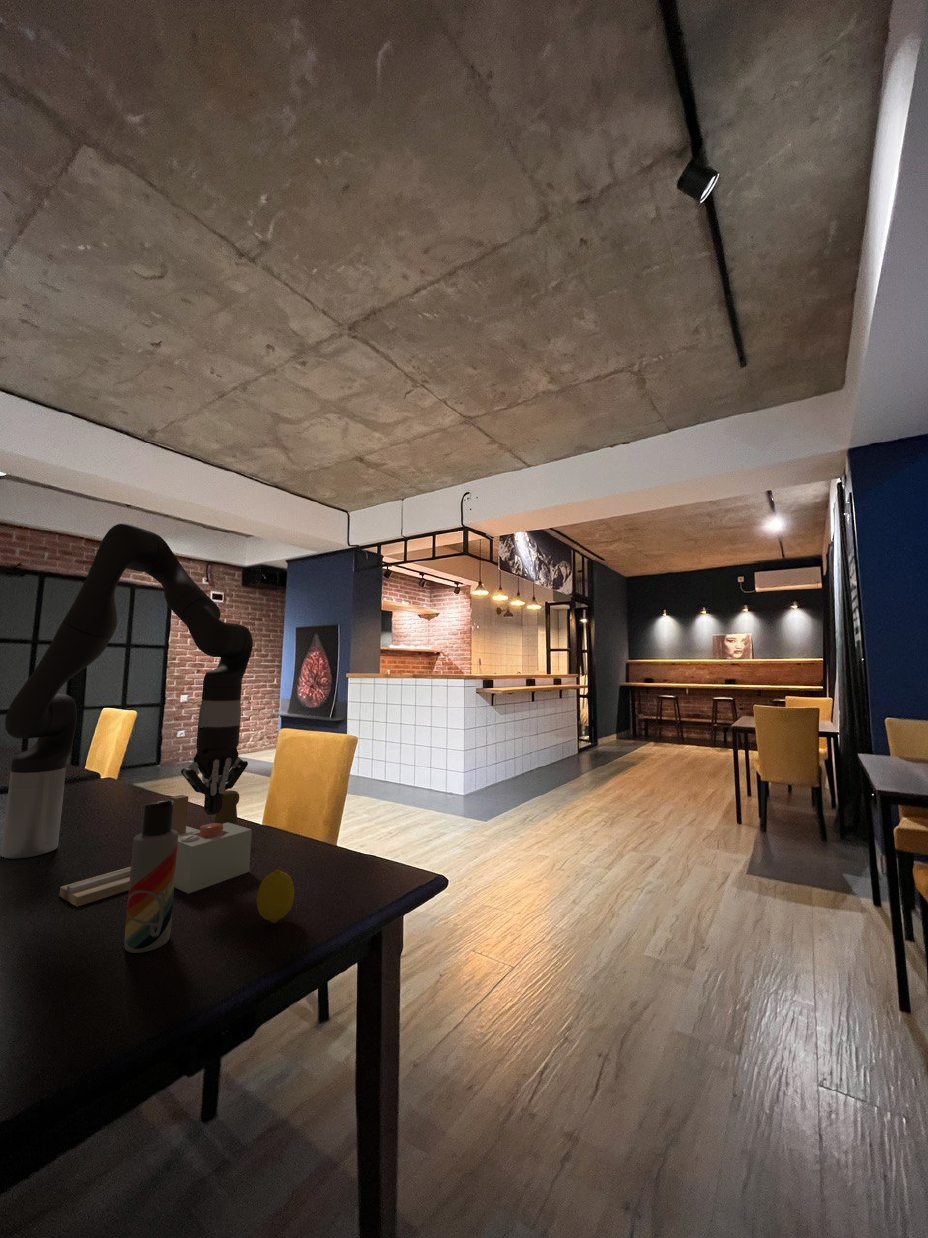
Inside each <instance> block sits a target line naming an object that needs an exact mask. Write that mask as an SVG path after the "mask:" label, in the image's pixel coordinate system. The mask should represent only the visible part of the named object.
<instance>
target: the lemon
mask: <svg viewBox="0 0 928 1238" xmlns="http://www.w3.org/2000/svg"><path fill="white" fill-rule="evenodd" d="M294 899H295V887H294V882H293V879H292V878H291V876H290V875H289V874H288V873H287V872H284V871H281V870H280V869H275V870H274V871H272V872H271V873H268V874H267V875H266V876H265V877H264V878H263V879H262V881H261V883H260V884H259V888H258V892H257V895H256V907H257V911H258V914H259V915H260V917H262V918H263V919H264V920H266V921H269V922H271V923H272V924H276V923H278V922H279V920H281V919H283V918H284V917H285V916H286V915H287V914H288V913H289V912H290V910H291V909H292V906H293V905H294Z"/></svg>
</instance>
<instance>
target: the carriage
mask: <svg viewBox="0 0 928 1238" xmlns="http://www.w3.org/2000/svg"><path fill="white" fill-rule="evenodd" d="M169 800H173V801H174V807H173V821H172V830H176V831H177V832H178V835H181V834H185V833H189V832H193V831H197V830H198V828H197V829H196V828H193V827H191V826H187V820H188V811H189V810H188V807H189V796H188V795H184V794H179V795H174V796H170V797H169Z"/></svg>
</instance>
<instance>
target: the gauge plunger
mask: <svg viewBox="0 0 928 1238" xmlns="http://www.w3.org/2000/svg"><path fill="white" fill-rule="evenodd" d="M199 828H200V829H199V830H200V837H202V838H205V839H209V838H212V837H216V836H220V835H223V824H221V823H214V822H213V823H212V822H211V823H207V824H203V825H201V826H199Z"/></svg>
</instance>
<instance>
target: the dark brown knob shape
mask: <svg viewBox="0 0 928 1238" xmlns="http://www.w3.org/2000/svg"><path fill="white" fill-rule="evenodd" d="M240 798H241V797H240V793H239V792H238V791H236V790H230V789H227V790H226V791H224V793H223V799H222V808H221V810H219V813H218V814H214V820H213V823H221V824H224V823H232V824H235V825H238V826H239V824H238V811H237V810H238V809H237V807H238V806H237V805H238V804H239V801H240Z"/></svg>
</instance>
